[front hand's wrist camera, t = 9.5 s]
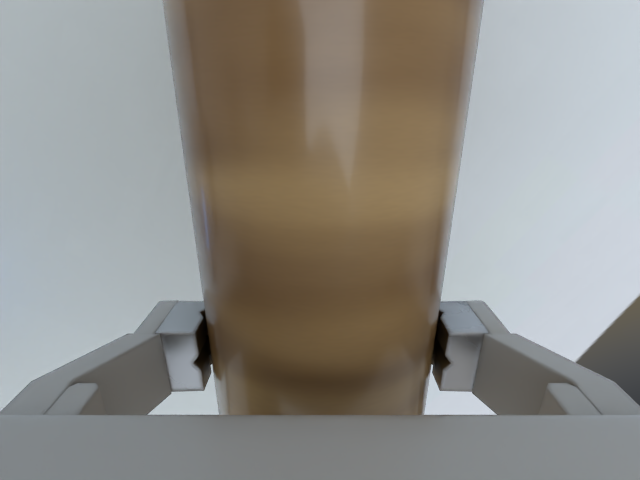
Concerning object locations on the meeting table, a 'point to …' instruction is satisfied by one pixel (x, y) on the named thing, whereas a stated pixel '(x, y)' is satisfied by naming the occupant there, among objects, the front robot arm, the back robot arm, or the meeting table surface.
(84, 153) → the meeting table surface
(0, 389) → the meeting table surface
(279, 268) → the rod
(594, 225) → the meeting table surface
